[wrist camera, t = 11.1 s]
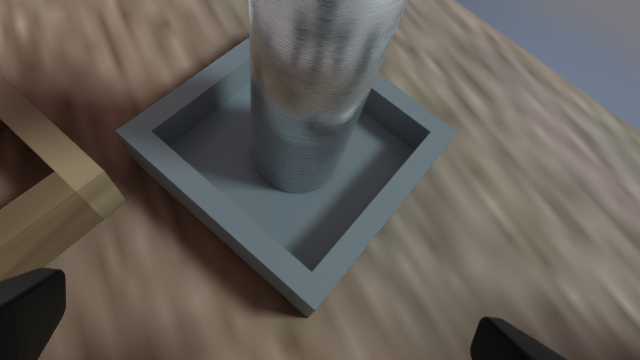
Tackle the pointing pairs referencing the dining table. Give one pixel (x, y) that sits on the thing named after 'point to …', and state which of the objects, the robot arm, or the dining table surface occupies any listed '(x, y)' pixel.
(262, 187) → the tray
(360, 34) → the pin
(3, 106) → the socket block
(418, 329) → the dining table surface
